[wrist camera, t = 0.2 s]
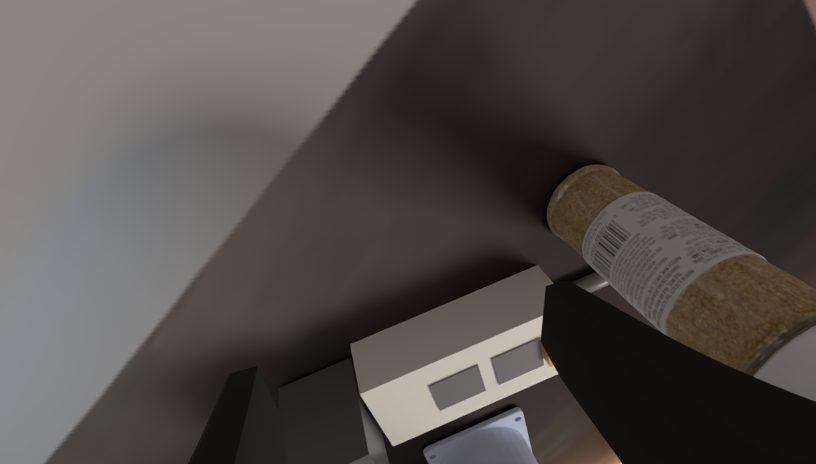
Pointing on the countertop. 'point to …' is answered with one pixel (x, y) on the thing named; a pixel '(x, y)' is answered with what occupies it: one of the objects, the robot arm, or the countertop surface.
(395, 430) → the power strip
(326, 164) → the countertop surface
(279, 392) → the charger
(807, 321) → the sprinkles bottle
